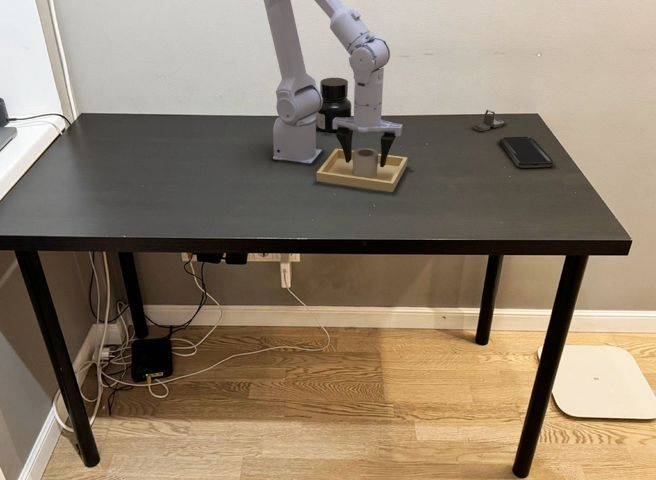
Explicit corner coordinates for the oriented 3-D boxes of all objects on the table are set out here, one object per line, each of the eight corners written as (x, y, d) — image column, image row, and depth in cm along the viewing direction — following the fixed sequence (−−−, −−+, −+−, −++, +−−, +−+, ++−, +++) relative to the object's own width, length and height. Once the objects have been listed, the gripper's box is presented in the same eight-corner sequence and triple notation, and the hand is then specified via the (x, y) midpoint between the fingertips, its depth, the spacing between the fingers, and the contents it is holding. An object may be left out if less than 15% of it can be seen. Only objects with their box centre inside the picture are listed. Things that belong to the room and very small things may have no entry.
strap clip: (495, 121, 167) (498, 105, 165) (504, 125, 165) (507, 108, 163) (471, 128, 163) (473, 112, 161) (480, 132, 161) (482, 115, 159)
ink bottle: (319, 120, 170) (319, 75, 163) (353, 122, 168) (354, 76, 162) (313, 134, 162) (312, 87, 155) (348, 136, 160) (349, 88, 154)
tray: (316, 183, 139) (316, 172, 138) (335, 158, 150) (335, 148, 148) (392, 194, 134) (393, 183, 133) (406, 168, 145) (407, 157, 143)
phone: (531, 136, 155) (554, 162, 143) (530, 141, 156) (553, 167, 143) (498, 137, 155) (518, 163, 143) (498, 142, 156) (518, 168, 143)
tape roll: (349, 176, 140) (350, 155, 137) (356, 166, 144) (357, 146, 142) (373, 180, 138) (374, 159, 136) (379, 170, 143) (381, 149, 140)
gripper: (328, 104, 132) (327, 166, 139) (398, 111, 127) (394, 175, 135) (338, 93, 137) (337, 153, 145) (406, 100, 133) (401, 161, 140)
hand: (365, 163), depth 140 cm, fingers open, 7 cm apart
